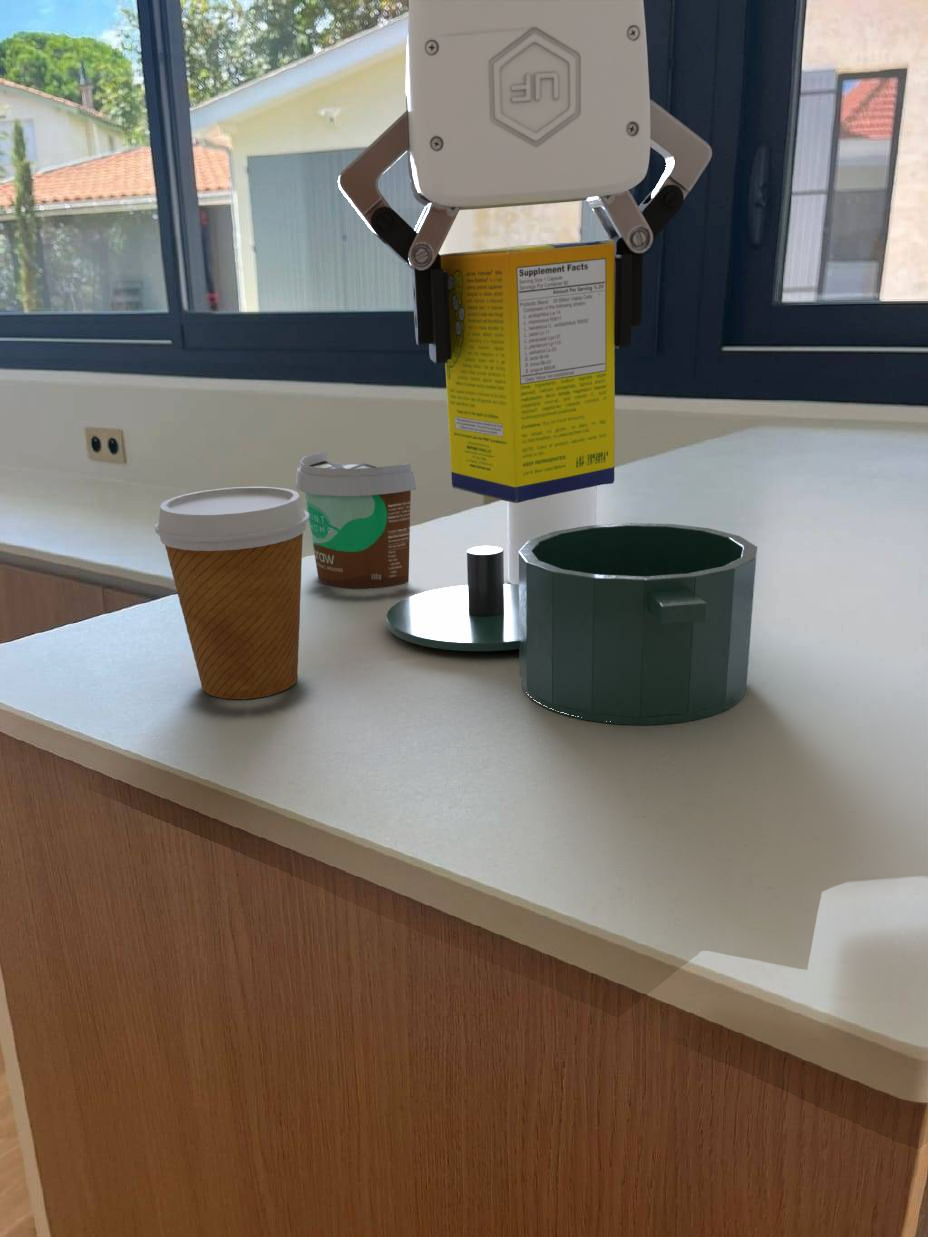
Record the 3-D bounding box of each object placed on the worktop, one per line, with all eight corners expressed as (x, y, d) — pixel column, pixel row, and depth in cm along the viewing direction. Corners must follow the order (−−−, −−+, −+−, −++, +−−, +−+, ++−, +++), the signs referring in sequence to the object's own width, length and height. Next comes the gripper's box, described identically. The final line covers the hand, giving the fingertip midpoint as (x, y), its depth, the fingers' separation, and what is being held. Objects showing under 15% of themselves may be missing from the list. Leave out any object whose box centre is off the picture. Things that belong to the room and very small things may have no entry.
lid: (561, 592, 88) (561, 521, 86) (612, 650, 75) (614, 567, 73) (378, 606, 87) (374, 535, 85) (397, 667, 74) (393, 584, 72)
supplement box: (543, 470, 58) (540, 244, 54) (617, 485, 53) (620, 237, 49) (447, 488, 56) (435, 252, 52) (515, 505, 51) (508, 246, 47)
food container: (275, 575, 98) (264, 461, 94) (330, 561, 101) (322, 450, 97) (363, 601, 89) (355, 475, 85) (420, 584, 92) (415, 463, 89)
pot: (691, 629, 78) (697, 508, 75) (801, 734, 60) (816, 582, 57) (499, 642, 77) (497, 522, 74) (554, 752, 60) (554, 601, 57)
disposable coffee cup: (352, 677, 72) (339, 494, 68) (236, 721, 66) (213, 523, 62) (261, 649, 79) (244, 479, 74) (148, 687, 73) (121, 505, 68)
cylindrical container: (604, 570, 94) (612, 248, 84) (581, 593, 88) (587, 249, 78) (523, 565, 96) (522, 253, 87) (496, 587, 90) (491, 255, 81)
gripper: (306, -113, 42) (346, 376, 48) (763, -144, 42) (738, 344, 49) (306, -60, 48) (341, 362, 55) (699, -87, 49) (685, 334, 56)
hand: (527, 351), depth 52 cm, fingers closed on supplement box, 7 cm apart
